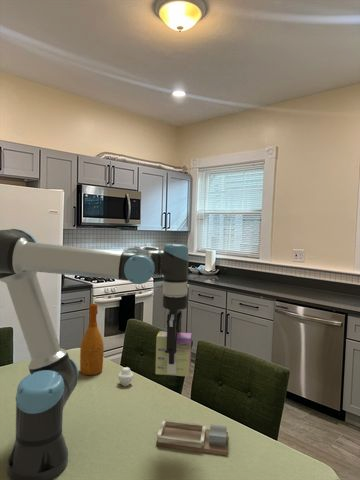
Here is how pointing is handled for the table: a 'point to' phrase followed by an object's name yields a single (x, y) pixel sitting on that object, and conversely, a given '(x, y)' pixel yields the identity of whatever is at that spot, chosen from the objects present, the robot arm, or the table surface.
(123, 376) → the white ribbed rounded piece
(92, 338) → the wine bottle
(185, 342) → the box
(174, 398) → the table surface
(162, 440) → the shallow tray
